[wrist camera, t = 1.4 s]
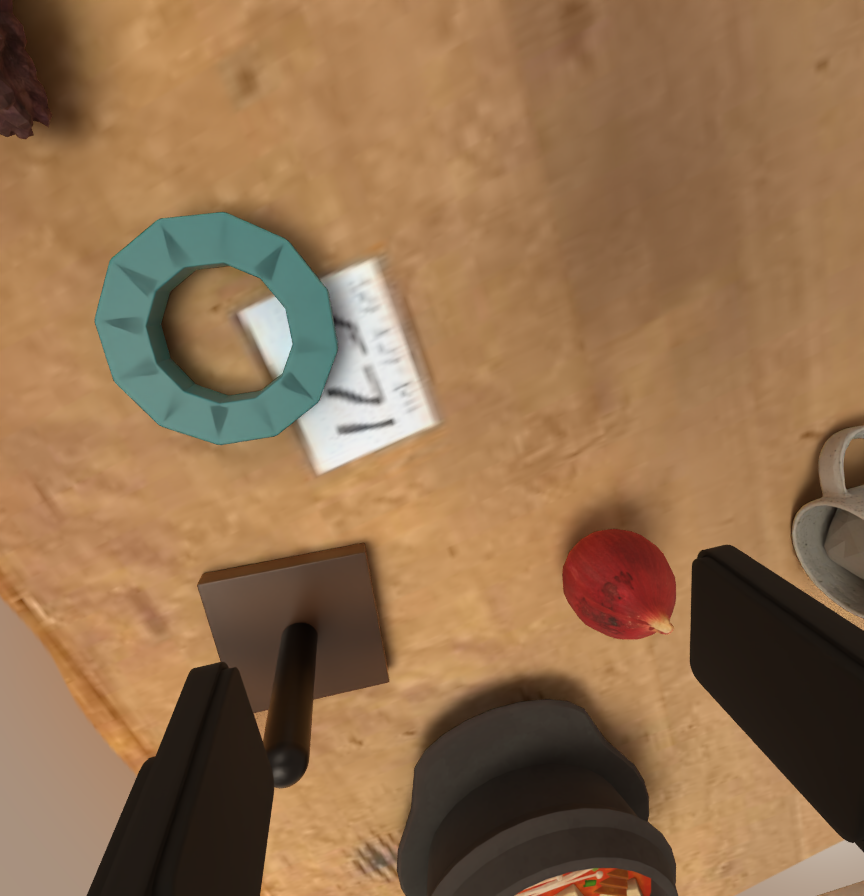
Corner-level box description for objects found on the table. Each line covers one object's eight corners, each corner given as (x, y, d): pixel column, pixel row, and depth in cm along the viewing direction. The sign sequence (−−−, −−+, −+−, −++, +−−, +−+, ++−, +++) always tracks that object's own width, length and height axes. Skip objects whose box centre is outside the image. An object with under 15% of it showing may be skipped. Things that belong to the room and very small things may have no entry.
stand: (202, 573, 28) (129, 720, 18) (364, 542, 29) (375, 665, 19) (241, 701, 31) (195, 887, 21) (387, 668, 32) (408, 831, 22)
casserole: (348, 732, 33) (351, 872, 25) (614, 642, 34) (697, 747, 26) (438, 960, 41) (461, 1121, 33) (649, 879, 42) (721, 1013, 34)
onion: (547, 600, 32) (610, 693, 25) (538, 520, 31) (602, 594, 23) (631, 578, 33) (718, 662, 25) (627, 498, 31) (718, 564, 24)
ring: (87, 234, 22) (63, 228, 20) (314, 209, 24) (311, 202, 22) (153, 446, 25) (138, 458, 24) (350, 415, 27) (351, 424, 25)
